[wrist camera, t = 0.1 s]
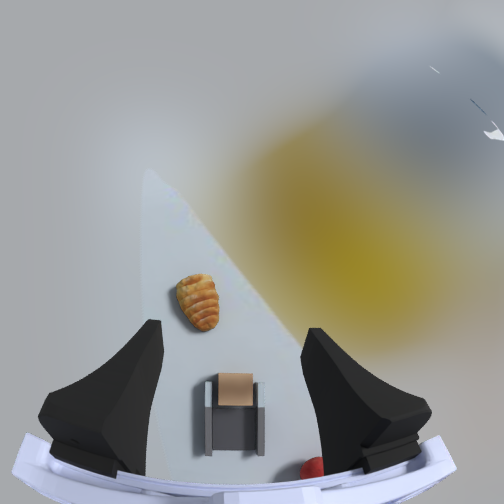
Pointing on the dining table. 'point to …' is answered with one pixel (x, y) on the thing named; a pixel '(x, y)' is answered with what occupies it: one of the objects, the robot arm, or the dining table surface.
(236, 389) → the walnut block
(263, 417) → the grey i-beam block
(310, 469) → the pomegranate
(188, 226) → the dining table surface
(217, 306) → the pastry
